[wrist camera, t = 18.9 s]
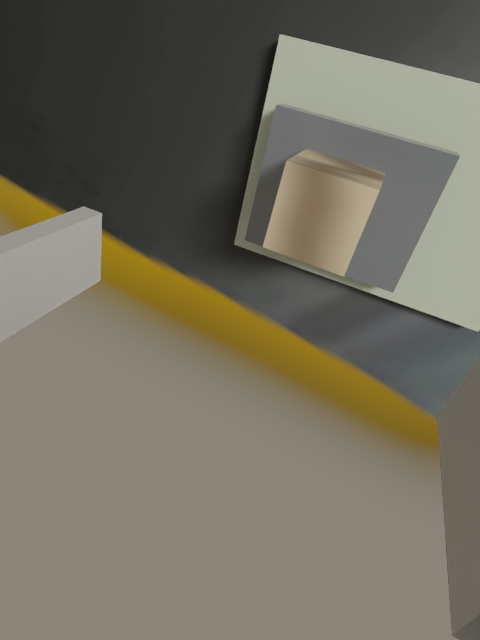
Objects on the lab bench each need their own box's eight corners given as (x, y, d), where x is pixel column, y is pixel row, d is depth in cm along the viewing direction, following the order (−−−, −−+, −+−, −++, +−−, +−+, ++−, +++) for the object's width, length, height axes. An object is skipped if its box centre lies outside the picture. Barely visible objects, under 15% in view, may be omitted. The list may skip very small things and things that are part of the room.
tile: (460, 156, 23) (276, 104, 25) (393, 292, 28) (244, 240, 30) (456, 151, 24) (284, 103, 26) (394, 281, 29) (253, 232, 31)
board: (611, 117, 22) (620, 118, 21) (475, 323, 30) (478, 331, 29) (284, 36, 26) (279, 34, 25) (239, 239, 33) (233, 244, 32)
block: (385, 173, 24) (379, 190, 20) (354, 248, 27) (343, 276, 23) (306, 148, 25) (286, 160, 21) (284, 223, 28) (262, 247, 24)
